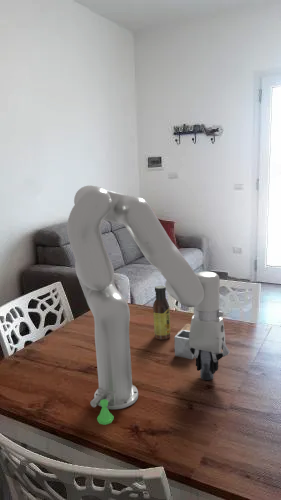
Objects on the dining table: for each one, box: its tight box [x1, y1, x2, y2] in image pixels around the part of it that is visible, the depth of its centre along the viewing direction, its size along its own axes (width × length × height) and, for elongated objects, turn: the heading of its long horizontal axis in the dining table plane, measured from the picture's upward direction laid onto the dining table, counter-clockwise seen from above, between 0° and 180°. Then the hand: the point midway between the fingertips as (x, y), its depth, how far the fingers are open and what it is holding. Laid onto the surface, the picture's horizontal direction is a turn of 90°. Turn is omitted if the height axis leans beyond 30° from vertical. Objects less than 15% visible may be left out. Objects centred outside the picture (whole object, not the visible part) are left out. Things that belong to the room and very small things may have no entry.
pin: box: [199, 350, 215, 381], centre depth 122 cm, size 4×4×10 cm
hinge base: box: [174, 323, 195, 360], centre depth 145 cm, size 18×9×7 cm, turn 151°
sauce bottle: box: [152, 285, 171, 340], centre depth 152 cm, size 6×6×20 cm
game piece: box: [96, 399, 115, 426], centre depth 105 cm, size 4×4×6 cm
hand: (206, 369), depth 123 cm, fingers closed on pin, 4 cm apart
